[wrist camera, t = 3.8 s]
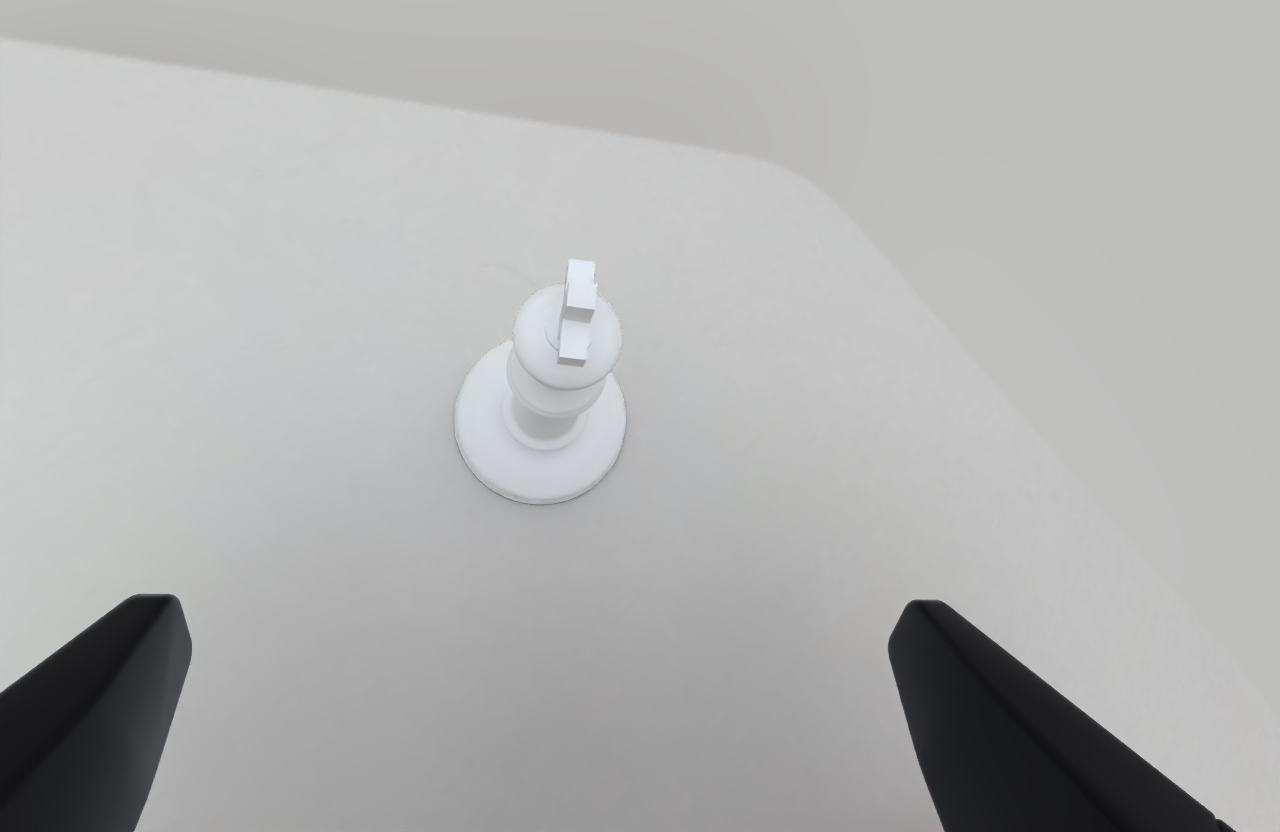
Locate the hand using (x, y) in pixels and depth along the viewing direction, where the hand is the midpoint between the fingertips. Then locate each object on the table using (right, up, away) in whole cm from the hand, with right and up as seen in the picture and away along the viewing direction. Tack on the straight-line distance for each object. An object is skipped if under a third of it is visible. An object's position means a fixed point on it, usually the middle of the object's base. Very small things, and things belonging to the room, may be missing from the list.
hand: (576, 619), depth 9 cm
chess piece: (-2, +2, +12) cm, 12 cm away
